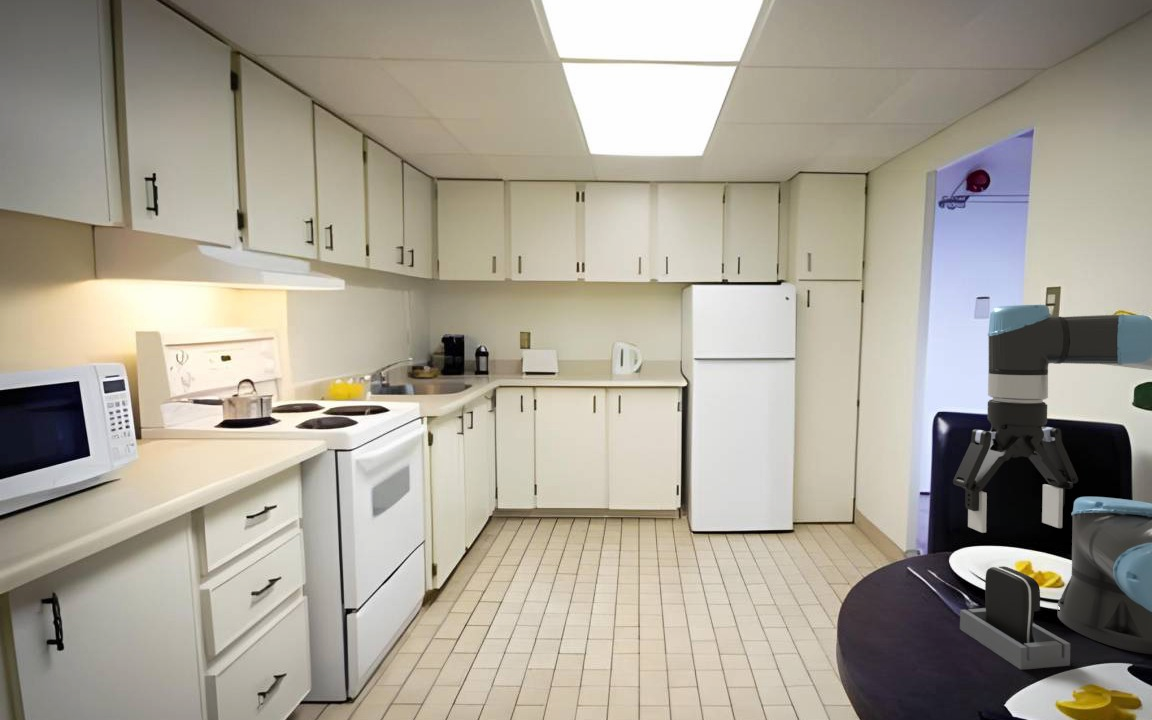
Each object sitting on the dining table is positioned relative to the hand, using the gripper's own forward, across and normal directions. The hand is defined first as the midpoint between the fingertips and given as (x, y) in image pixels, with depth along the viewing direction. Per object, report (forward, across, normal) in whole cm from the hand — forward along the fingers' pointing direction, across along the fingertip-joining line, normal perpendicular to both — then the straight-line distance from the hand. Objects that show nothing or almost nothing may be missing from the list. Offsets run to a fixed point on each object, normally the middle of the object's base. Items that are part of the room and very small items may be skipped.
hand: (1014, 527), depth 87 cm
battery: (+19, 0, 0) cm, 19 cm away
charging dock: (+20, 0, 0) cm, 20 cm away
